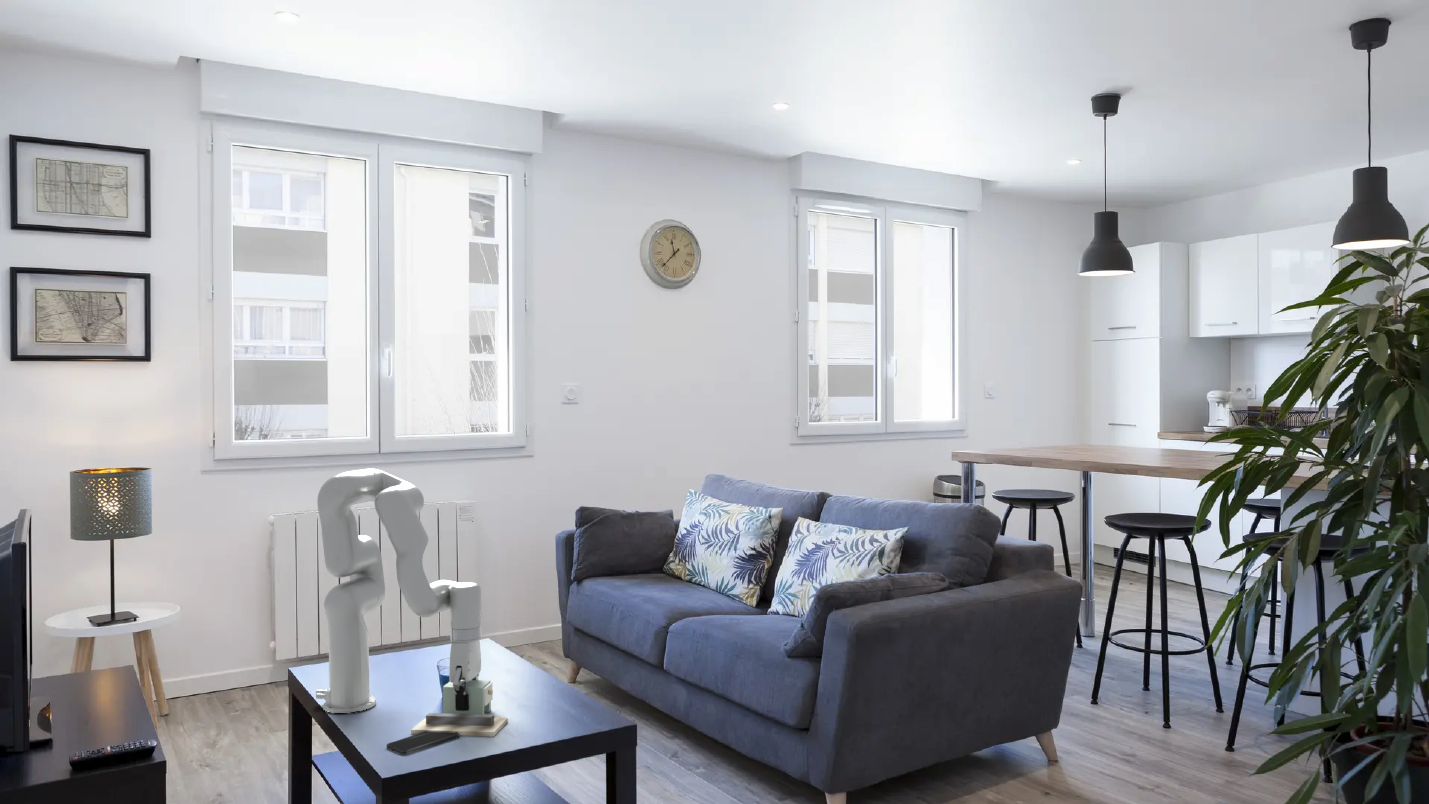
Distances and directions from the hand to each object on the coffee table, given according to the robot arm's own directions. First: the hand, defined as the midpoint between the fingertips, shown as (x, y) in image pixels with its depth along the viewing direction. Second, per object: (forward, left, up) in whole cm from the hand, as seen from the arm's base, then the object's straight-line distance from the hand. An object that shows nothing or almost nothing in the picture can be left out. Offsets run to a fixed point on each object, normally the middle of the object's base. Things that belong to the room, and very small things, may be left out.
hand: (467, 705), depth 247 cm
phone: (-3, -20, -3) cm, 20 cm away
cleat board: (+2, -10, -2) cm, 10 cm away
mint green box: (0, 0, -2) cm, 2 cm away
